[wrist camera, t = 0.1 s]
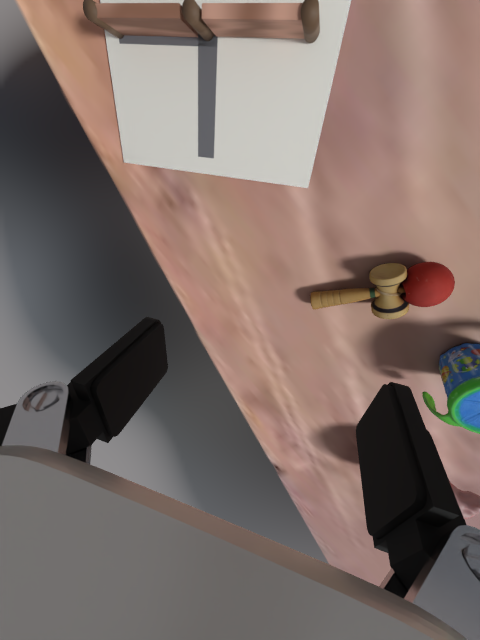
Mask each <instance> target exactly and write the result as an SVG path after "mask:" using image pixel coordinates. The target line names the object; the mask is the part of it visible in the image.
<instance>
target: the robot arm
mask: <svg viewBox="0 0 480 640" xmlns="http://www.w3.org/2000/svg"><path fill="white" fill-rule="evenodd" d="M167 369H168V364H167V354H166V345H165V336H164V328H163V325H162V324H161V322H160V321H159V320H156V319H153V318H149V317H146V318H144V319H143V320H142V321H141V322H140V323H138V324H137V325H136V326H135V327H134V328H132V329H131V330H130V331H129V332H128V333H126V334H125V335H124V336H123V337H122V338H120V339H119V340H118V341H117V342H116V343H114V344H113V345H112V346H111V347H110V348H109V349H107V350H106V351H105V352H104V353H103V354H101V355H100V356H99V357H98V358H97V359H95V360H94V361H93V362H92V363H91V364H90V365H88V366H87V367H86V368H85V369H84V370H83V371H81V372H80V373H79V374H78V375H77V376H75V377H74V378H73V379H72V380H71V382H70V383H69V384H68V385H66V384H64V383H62V382H56V381H54V382H46V383H43V384H40V385H38V386H36V387H33V388H32V389H30V390H29V391H27V392H26V393H25V394H24V395H23V396H22V397H21V398H20V399H19V401H18V403H17V404H15V405H11V406H8V407H4V408H0V640H480V530H479V529H477V528H475V527H471V526H467V525H466V522H465V520H464V517H463V515H462V512H461V510H460V507H459V505H458V502H457V500H456V497H455V495H454V492H453V490H452V487H451V485H450V482H449V480H448V477H447V474H446V472H445V469H444V467H443V464H442V462H441V459H440V457H439V454H438V452H437V449H436V447H435V444H434V442H433V439H432V437H431V435H430V433H429V432H428V431H427V430H426V428H425V425H424V422H423V420H422V417H421V415H420V412H419V410H418V407H417V404H416V402H415V399H414V397H413V394H412V391H411V389H410V388H409V387H408V386H404V385H401V384H397V383H393V382H390V383H389V384H388V385H386V384H384V385H383V386H382V387H381V389H380V390H379V392H378V393H377V395H376V396H375V398H374V400H373V401H372V403H371V404H370V406H369V407H368V409H367V410H366V412H365V414H364V415H363V417H362V418H361V420H360V421H359V423H358V425H357V427H356V438H357V446H358V455H359V463H360V472H361V480H362V489H363V498H364V506H365V515H366V523H367V530H368V533H369V534H370V535H371V536H373V541H374V548H376V549H379V550H381V551H384V552H387V553H388V554H389V560H390V566H391V570H390V571H389V573H388V574H387V576H386V577H385V578H384V580H383V581H382V583H381V584H380V586H379V587H378V586H376V585H374V584H372V583H369V582H367V581H365V580H363V579H360V578H358V577H356V576H354V575H351V574H349V573H347V572H345V571H342V570H340V569H338V568H336V567H333V566H331V565H329V564H327V563H324V562H322V561H319V560H317V559H315V558H312V557H310V556H307V555H305V554H303V553H301V552H298V551H296V550H294V549H291V548H289V547H286V546H284V545H282V544H279V543H277V542H275V541H272V540H270V539H268V538H265V537H263V536H260V535H258V534H256V533H254V532H251V531H249V530H246V529H244V528H242V527H239V526H237V525H235V524H232V523H230V522H227V521H225V520H223V519H220V518H218V517H215V516H213V515H211V514H208V513H206V512H203V511H201V510H199V509H196V508H194V507H192V506H189V505H187V504H184V503H182V502H180V501H177V500H175V499H172V498H170V497H168V496H165V495H163V494H161V493H158V492H155V491H153V490H151V489H148V488H146V487H144V486H141V485H139V484H136V483H134V482H131V481H129V480H126V479H124V478H122V477H119V476H117V475H115V474H112V473H110V472H107V471H105V470H102V469H100V468H97V467H95V466H92V465H90V459H91V445H92V444H93V442H94V441H95V440H96V439H99V440H101V441H104V442H107V443H109V441H110V440H111V439H112V437H113V436H114V437H115V436H117V435H118V434H119V433H120V432H121V431H122V429H123V428H124V427H125V426H126V424H127V423H128V422H129V420H130V419H131V418H132V416H133V415H134V414H135V413H136V411H137V410H138V409H139V407H140V406H141V405H142V404H143V402H144V401H145V400H146V398H147V397H148V396H149V394H150V393H151V392H152V391H153V389H154V388H155V387H156V385H157V384H158V383H159V381H160V380H161V379H162V377H163V376H164V375H165V373H166V372H167Z"/></svg>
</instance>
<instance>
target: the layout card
mask: <svg viewBox="0 0 480 640" xmlns="http://www.w3.org/2000/svg"><path fill="white" fill-rule="evenodd" d="M183 2H184V0H100V3H180V4H181V5H183ZM195 2H196V3H197V4H198V5H199V7H200V8H201V9H202V3H303V2H304V0H195ZM318 2H319V18H320V33H319V36H318V38H317V39H316V41H315V42H313V43H307V42H306V41H305V39H298V38H257V37H217V36H216V35H215V34H214V36H213V38H212V40H210V41H205V40H204V39H203V38H202V37H201V36H200V35H199V34H198V37H167V36H128V35H124V37H123V38H122V39H119V38H117V37H116V36H114V35H112V34H111V33H109V32H108V31H106V30H105V37H106V44H107V50H108V57H109V64H110V71H111V78H112V84H113V91H114V98H115V105H116V112H117V118H118V125H119V132H120V139H121V146H122V152H123V159H124V162H125V163H132V164H139V165H146V166H153V167H160V168H168V169H175V170H182V171H189V172H196V173H203V174H211V175H218V176H225V177H232V178H239V179H246V180H253V181H261V182H268V183H275V184H282V185H289V186H296V187H304V188H308V186H309V181H310V177H311V173H312V168H313V164H314V160H315V155H316V151H317V147H318V142H319V138H320V134H321V129H322V125H323V121H324V116H325V112H326V108H327V103H328V99H329V95H330V90H331V86H332V82H333V77H334V73H335V69H336V64H337V60H338V56H339V51H340V47H341V43H342V38H343V34H344V29H345V25H346V21H347V16H348V12H349V8H350V3H351V0H318Z"/></svg>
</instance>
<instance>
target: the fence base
mask: <svg viewBox="0 0 480 640" xmlns="http://www.w3.org/2000/svg"><path fill="white" fill-rule="evenodd" d="M83 10H84V14H85V16H86V17H87V19H88V20H90V21H92V22H93V23H95V24H96V25H98V26H100V27H101V28H103V29H104V30H106V31H108V32H109V33H111V34H112V35H114V36H116V37H117V38H119V39H122V38H123V37H124V35H128V36H167V37H198V34H199V35H200V36H201V37H202V38H203V39H204V40H205V41H210V40H212V38H213V36H214V33H213V32H212V31H211V29H210V28H209V27H208V26H207V25H206V23H205V22H204V21H203V20H202V9H201V8H200V7H199V5H198V4H197V3H196V2H195V0H184V2H183V5H181V4H180V3H96V2H94V1H93V0H84V2H83Z"/></svg>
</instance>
